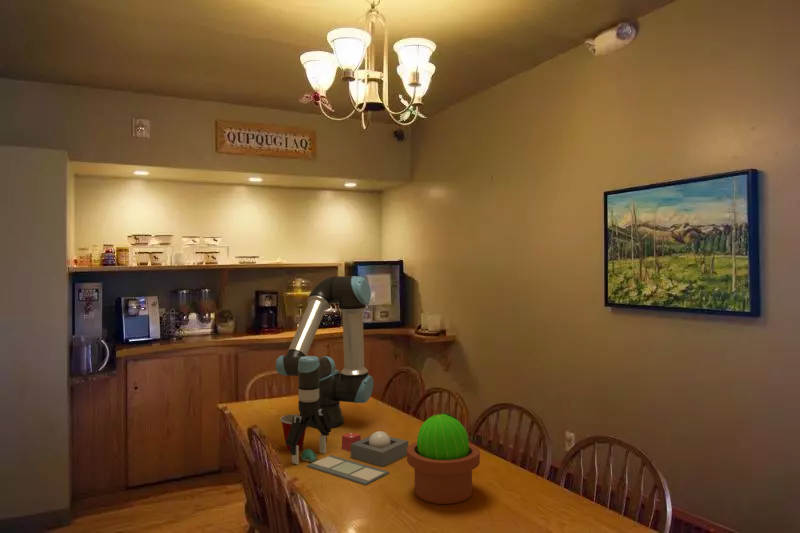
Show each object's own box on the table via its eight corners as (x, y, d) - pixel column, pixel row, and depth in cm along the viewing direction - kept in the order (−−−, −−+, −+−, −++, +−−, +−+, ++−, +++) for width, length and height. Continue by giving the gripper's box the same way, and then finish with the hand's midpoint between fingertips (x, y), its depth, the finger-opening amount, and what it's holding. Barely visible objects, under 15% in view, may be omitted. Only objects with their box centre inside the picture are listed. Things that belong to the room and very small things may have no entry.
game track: (331, 456, 207) (331, 454, 207) (389, 473, 191) (389, 471, 191) (307, 466, 198) (306, 464, 198) (365, 485, 181) (365, 482, 181)
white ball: (378, 448, 213) (378, 427, 213) (395, 452, 208) (394, 430, 208) (364, 454, 207) (364, 432, 206) (381, 458, 202) (381, 436, 202)
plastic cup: (303, 454, 209) (303, 422, 209) (276, 452, 212) (275, 421, 211) (313, 445, 220) (313, 414, 220) (287, 443, 222) (287, 412, 222)
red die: (350, 445, 219) (350, 432, 219) (360, 447, 216) (360, 434, 216) (342, 448, 215) (341, 435, 215) (351, 451, 212) (351, 437, 212)
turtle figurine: (312, 456, 208) (312, 445, 208) (321, 461, 202) (321, 451, 202) (297, 459, 205) (297, 449, 205) (306, 465, 199) (306, 454, 199)
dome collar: (377, 446, 218) (376, 433, 218) (408, 454, 209) (408, 441, 209) (350, 457, 206) (350, 444, 206) (382, 466, 197) (382, 452, 197)
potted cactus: (430, 514, 160) (430, 427, 160) (395, 486, 180) (395, 408, 179) (493, 498, 171) (493, 416, 170) (453, 474, 190) (453, 400, 190)
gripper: (325, 391, 217) (326, 446, 217) (275, 405, 197) (275, 465, 198) (340, 394, 213) (340, 450, 213) (289, 408, 193) (290, 470, 193)
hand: (309, 458), depth 205 cm, fingers open, 13 cm apart
